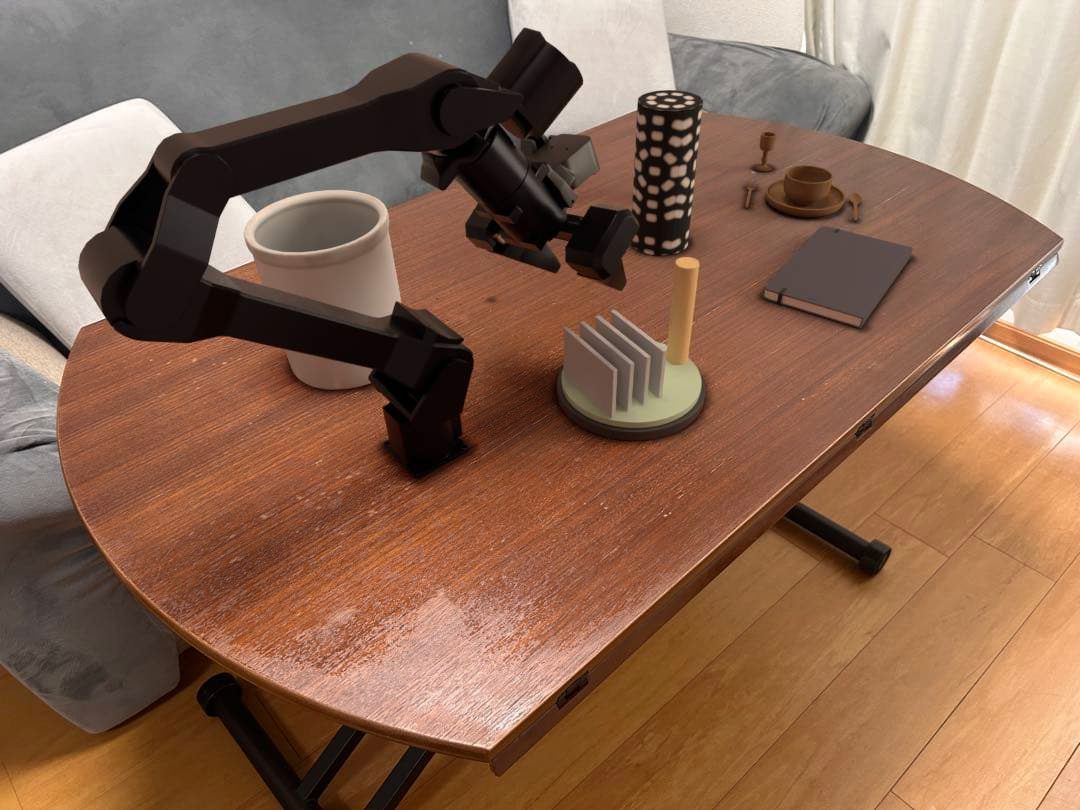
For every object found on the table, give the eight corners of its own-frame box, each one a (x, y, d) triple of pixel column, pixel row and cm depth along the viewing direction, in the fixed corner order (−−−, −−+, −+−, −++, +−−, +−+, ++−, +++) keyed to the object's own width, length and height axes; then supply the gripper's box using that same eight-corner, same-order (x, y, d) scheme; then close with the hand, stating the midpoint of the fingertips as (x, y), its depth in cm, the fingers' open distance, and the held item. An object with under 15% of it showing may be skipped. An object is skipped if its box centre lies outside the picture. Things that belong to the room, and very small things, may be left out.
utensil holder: (284, 405, 83) (240, 262, 71) (283, 333, 94) (244, 199, 83) (419, 381, 85) (396, 239, 74) (402, 313, 97) (379, 181, 85)
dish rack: (730, 395, 80) (748, 291, 72) (614, 447, 74) (619, 340, 66) (644, 329, 90) (651, 231, 82) (536, 370, 84) (532, 269, 76)
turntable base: (630, 463, 74) (630, 454, 73) (527, 388, 84) (527, 379, 83) (734, 395, 82) (736, 386, 81) (629, 334, 92) (630, 325, 91)
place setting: (740, 214, 116) (746, 177, 112) (751, 164, 131) (757, 130, 127) (861, 226, 112) (871, 188, 108) (859, 173, 127) (867, 138, 123)
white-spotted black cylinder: (621, 248, 108) (627, 105, 96) (642, 224, 114) (651, 87, 101) (676, 260, 105) (690, 114, 93) (696, 235, 111) (711, 94, 98)
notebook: (860, 329, 91) (910, 257, 104) (863, 318, 90) (913, 247, 103) (760, 298, 97) (819, 234, 110) (762, 288, 96) (821, 224, 109)
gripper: (628, 108, 60) (702, 225, 71) (481, 100, 73) (564, 201, 84) (558, 223, 59) (645, 324, 70) (420, 195, 71) (513, 285, 83)
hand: (589, 277), depth 77 cm, fingers open, 9 cm apart
